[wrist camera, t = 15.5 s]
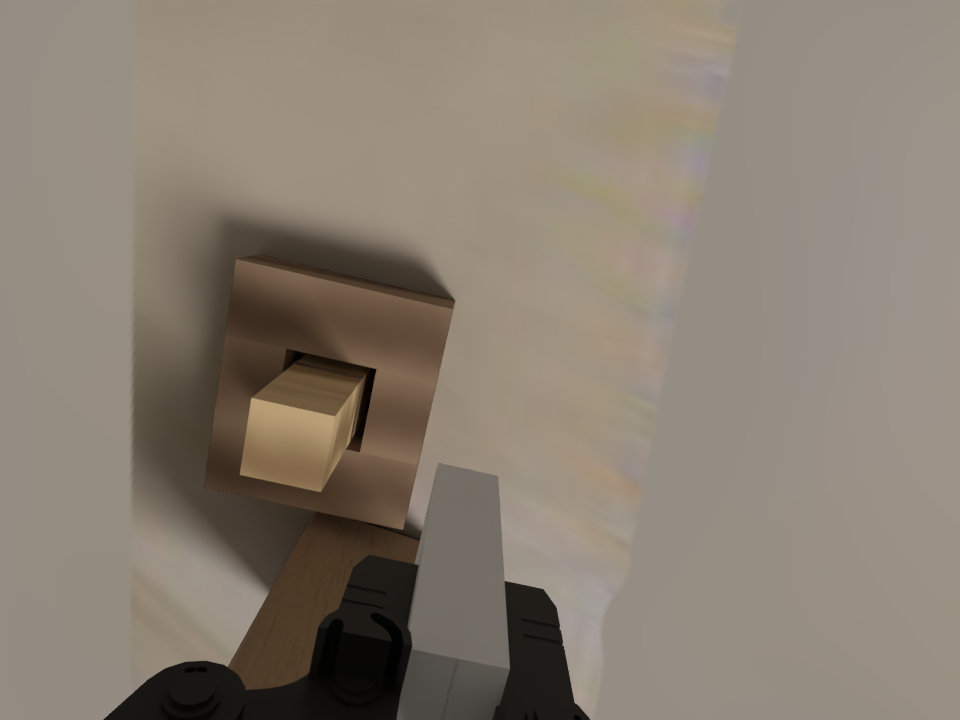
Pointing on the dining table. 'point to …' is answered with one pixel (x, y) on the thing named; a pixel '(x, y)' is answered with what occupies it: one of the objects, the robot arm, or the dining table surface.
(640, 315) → the dining table surface
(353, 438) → the board
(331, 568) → the block
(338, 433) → the peg
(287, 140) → the dining table surface
